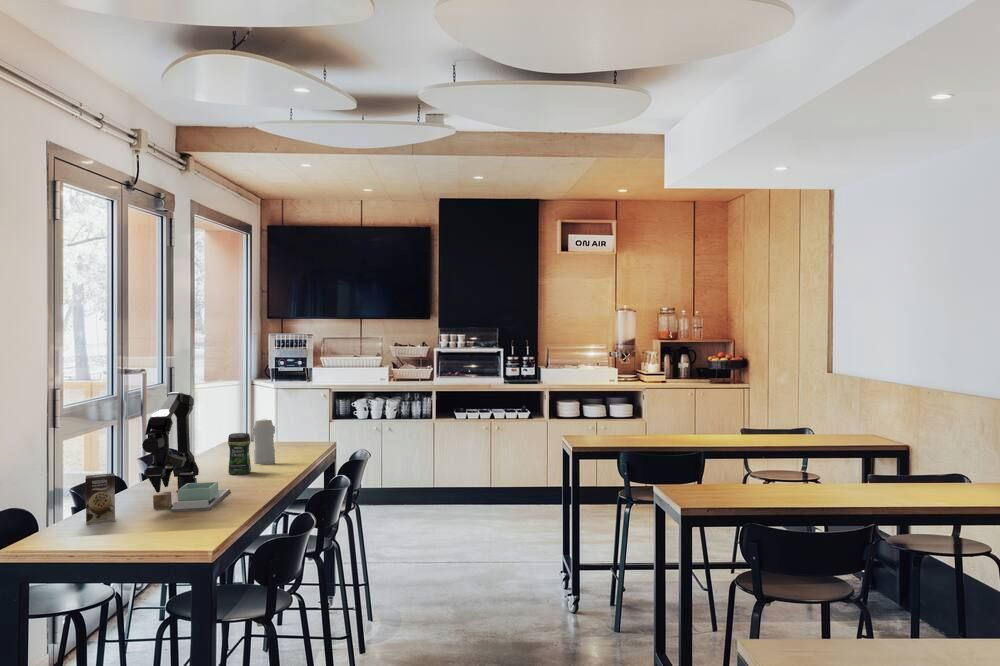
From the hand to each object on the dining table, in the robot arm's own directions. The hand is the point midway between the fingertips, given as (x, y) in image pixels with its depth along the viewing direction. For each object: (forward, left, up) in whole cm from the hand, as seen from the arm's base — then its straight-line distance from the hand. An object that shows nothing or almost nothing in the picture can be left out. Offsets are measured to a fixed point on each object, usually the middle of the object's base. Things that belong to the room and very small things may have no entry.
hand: (162, 489), depth 283 cm
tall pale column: (+22, +81, -6) cm, 85 cm away
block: (0, 0, -6) cm, 6 cm away
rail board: (+13, +5, -6) cm, 15 cm away
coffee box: (-15, -18, -7) cm, 24 cm away
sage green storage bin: (+13, 0, -5) cm, 14 cm away
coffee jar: (+15, +60, -7) cm, 62 cm away
